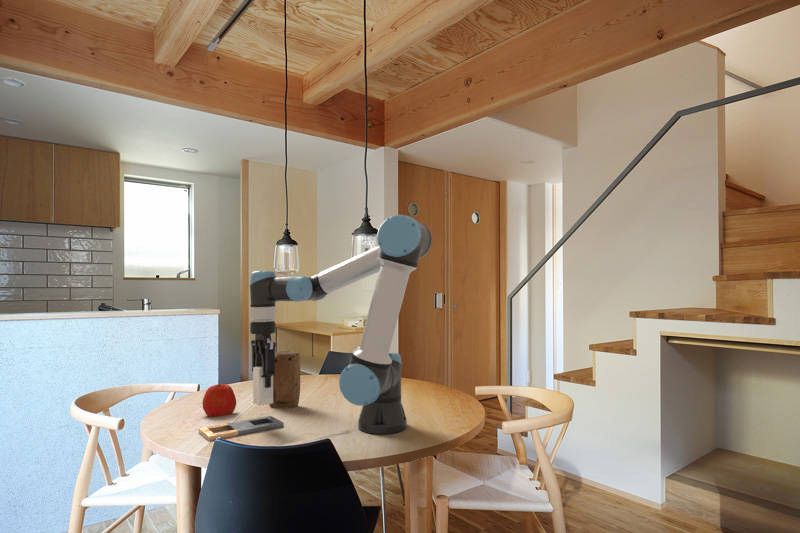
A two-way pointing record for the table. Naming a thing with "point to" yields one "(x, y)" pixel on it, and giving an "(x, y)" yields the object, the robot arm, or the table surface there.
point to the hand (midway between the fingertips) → (263, 396)
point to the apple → (219, 400)
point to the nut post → (260, 387)
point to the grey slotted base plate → (240, 428)
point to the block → (286, 380)
